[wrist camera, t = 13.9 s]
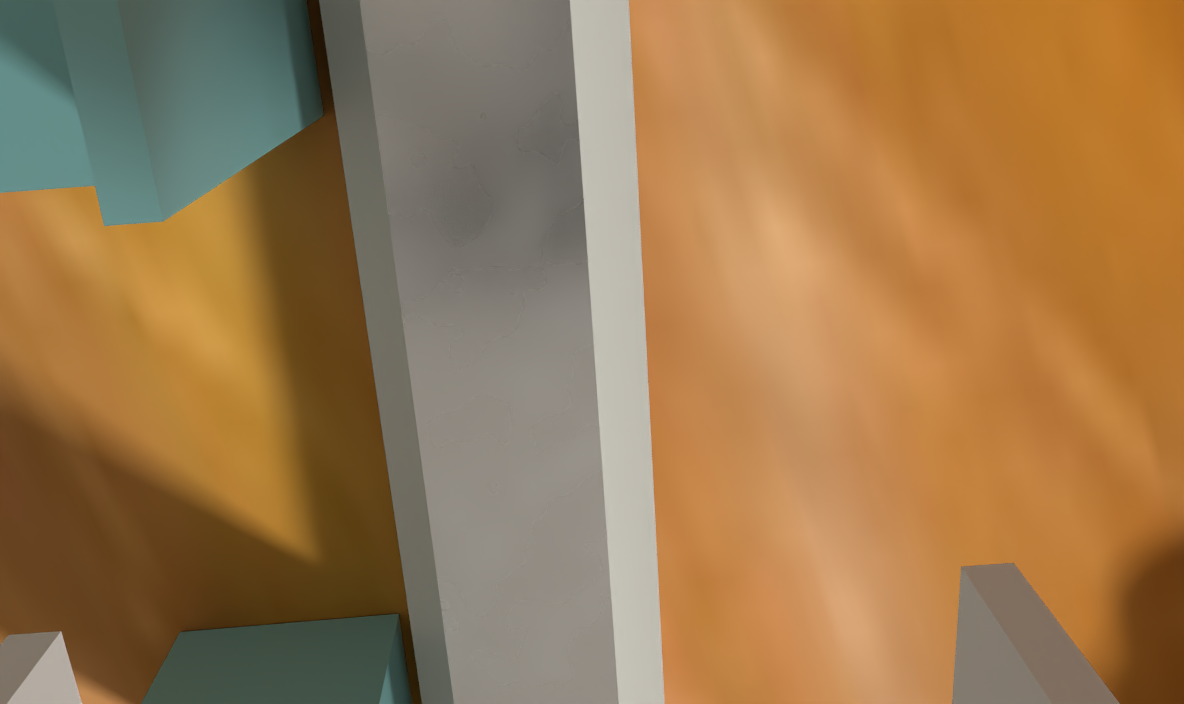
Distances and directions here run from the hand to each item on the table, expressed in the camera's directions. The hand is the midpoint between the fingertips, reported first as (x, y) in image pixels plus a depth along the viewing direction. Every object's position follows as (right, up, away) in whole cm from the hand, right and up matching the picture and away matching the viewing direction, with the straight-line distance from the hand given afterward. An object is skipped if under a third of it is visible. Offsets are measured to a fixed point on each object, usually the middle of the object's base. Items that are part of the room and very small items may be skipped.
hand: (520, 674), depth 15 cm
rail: (-1, +4, +12) cm, 12 cm away
